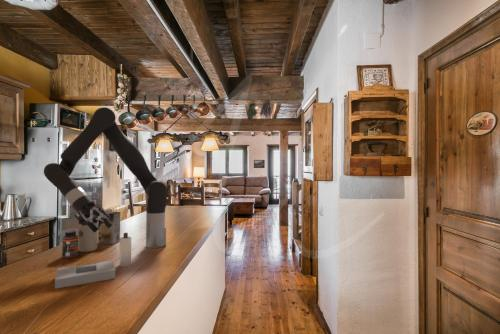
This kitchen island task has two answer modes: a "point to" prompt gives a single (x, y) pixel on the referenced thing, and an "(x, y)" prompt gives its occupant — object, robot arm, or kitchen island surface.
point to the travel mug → (87, 238)
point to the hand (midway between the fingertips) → (103, 228)
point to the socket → (84, 274)
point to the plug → (125, 250)
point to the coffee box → (109, 229)
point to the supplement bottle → (70, 245)
